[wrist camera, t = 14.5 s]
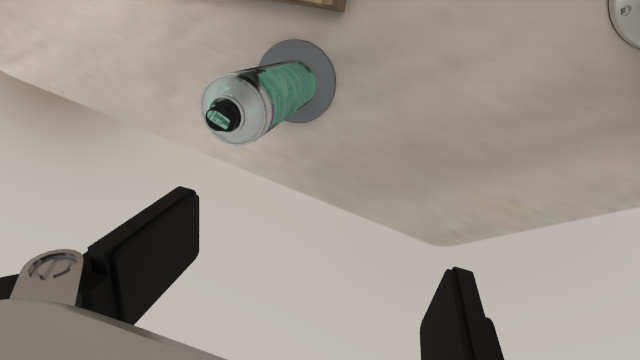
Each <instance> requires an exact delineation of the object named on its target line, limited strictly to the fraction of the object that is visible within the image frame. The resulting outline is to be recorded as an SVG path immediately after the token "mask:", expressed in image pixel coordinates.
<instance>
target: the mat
mask: <svg viewBox="0 0 640 360" xmlns="http://www.w3.org/2000/svg"><path fill="white" fill-rule="evenodd" d="M289 60H301V61H304V62H306V63H307V64H309V65H310V66H311V67H312V68H313V70H314V71H315V73H316V76H317V80H318V87H317V91H316V94H315V96H314V97H313V98H312V99H311V101H309V102H308V103H307V104H305V105H304V106H303V107H301V108H300V109H299V110H297V111H296V112H294V113H293V114H292V115H290V116H289V117H288V118H286V119H285V120H284V121H287V122H291V123H305V122H308V121H311V120H314V119H315V118H317V117H318V116H320V115H321V114H322V113H323V112H324V111H325V110H326V109H327V108H328V106H329V105H330V103H331V101H332V99H333V96H334V93H335V87H336V78H335V72H334V69H333V66H332V64H331V62H330V60H329V58H328V57H327V56H326V54H325V53H324V52H323V51H322V50H321V49H320V48H318V47H317V46H315V45H314V44H312V43H310V42H307V41H303V40H286V41H282V42H280V43H278V44H276V45H274V46H273V47H271V48H270V49H269V50H268V51H267V52H266V54H265V55H264V56H263V58H262V60H261V62H260V64H259V67H260V66H265V65H270V64H275V63H279V62H284V61H289Z"/></svg>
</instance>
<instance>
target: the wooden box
mask: <svg viewBox="0 0 640 360" xmlns="http://www.w3.org/2000/svg"><path fill="white" fill-rule="evenodd" d="M272 1H279V2H285V3H291V4H298V5H304V6H311V7H317V8H323V9H330V10H336V11H342V12H344V10H345V4H346V0H272Z"/></svg>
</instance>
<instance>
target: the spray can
mask: <svg viewBox="0 0 640 360" xmlns="http://www.w3.org/2000/svg"><path fill="white" fill-rule="evenodd" d="M317 87H318V80H317V76H316V73H315V71H314V70H313V68H312V67H311V66H310V65H309V64H307V63H306V62H304V61H301V60H289V61H284V62H279V63H275V64H270V65H265V66H260V67H255V68H250V69H245V70H241V71H236V72H231V73H227V74H223V75H221V76H219V77H217V78H215V79H213V80H212V81H210V82H209V83H208V84H207V86H206V87H205V88H204V90H203V93H202V95H201V100H200V110H201V115H202V118H203V121H204V123H205V125H206V126H207V128H208V129H209V131H210V132H211V133H212V134H213V135H214V136H215V137H216V138H218V139H219V140H221V141H222V142H224V143H227V144H230V145H235V146H241V145H246V144H249V143H252V142H254V141H256V140H258V139H259V138H260V137H262V136H263V135H265V134H266V133H267V132H269V131H270V130H271V129H273V128H274V127H275V126H277V125H278V124H279V123H281V122H282V121H284V120H285V119H286V118H288V117H289V116H290V115H292V114H293V113H294V112H296V111H297V110H299V109H300V108H301V107H303V106H304V105H305V104H307V103H308V102H309V101H311V99H312V98H313V97H314V96H315V94H316V91H317Z"/></svg>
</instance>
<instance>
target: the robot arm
mask: <svg viewBox="0 0 640 360" xmlns="http://www.w3.org/2000/svg"><path fill="white" fill-rule="evenodd" d="M621 9H622V10H623V11H622V13H621V14H620V11H621ZM609 11H610V17H611V20H612V23H613V25H614V27H615V29H616V31H617V32H618V33H619V35H620V36H621V37H622V38H623V39H624V40H625V41H627V42H628V43H629V44H631V45H632V46H635V47H637V48H640V0H609ZM198 253H199V196H198V195H196V192H195V191H194V190H192V189H188V188H184V187H181V186H179V187H177V188H175V189H174V190H173V191H171V192H170V193H168V194H166V195H165V196H164V197H162V198H160V199H159V200H157V201H156V202H155V203H153V204H152V205H150V206H149V207H147V208H146V209H144V210H143V211H141V212H140V213H138V214H137V215H135V216H134V217H132V218H131V219H129V220H128V221H126V222H125V223H124V224H122V225H120V226H119V227H117V228H116V229H115V230H113V231H111V232H110V233H108V234H107V235H105V236H104V237H102V238H101V239H99V240H98V241H97V242H95V243H94V244H92V245H91V246H89V247H88V251H87V252H86V253H84V254H83V255H82V254H81V253H80V252H77V251H75V250H69V249H61V250H54V251H49V252H46V253H43V254H40V255H38V256H36V257H35V258H33V259H31V260H30V261H29V262H27V263H26V264H25V265H24V267H23V268H22V270H21V272H20V274H16V275H11V276H6V277H1V278H0V360H227V359H224V358H221V357H218V356H216V355H213V354H210V353H208V352H205V351H202V350H200V349H197V348H194V347H191V346H189V345H186V344H183V343H180V342H177V341H175V340H172V339H169V338H167V337H164V336H161V335H158V334H156V333H153V332H150V331H147V330H144V329H142V328H139V327H136V326H134V324H135V323H136V322H137V321H138V320H139V319H140V318H141V317H142V316H143V315H144V314H145V312H146V311H147V310H148V309H149V308H150V307H151V306H152V305H153V304H154V303H155V302H156V301H157V300H158V298H160V296H161V295H162V294H163V293H164V292H165V291H166V290H167V289H168V288H169V287H170V286H171V285H172V283H174V281H175V280H176V279H177V278H178V277H179V276H180V275H181V274H182V273H183V272H184V271H185V270H186V269H187V268H188V266H189V265H190V264H191V263H192V262H193V261H194V260H195V259H196V257H197V255H198ZM420 346H421V360H504V357H503V354H502V351H501V348H500V345H499V341H498V337H497V334H496V331H495V327H494V324H493V322H492V320H491V319H490V318H486V317H485V314H484V310H483V307H482V303H481V300H480V296H479V292H478V289H477V285H476V282H475V278H474V274H473V272H471V271H468V270H465V269H461V268H458V267H453V268H452V270H450V269H447V270H446V271H445V273H444V275H443V278H442V280H441V282H440V284H439V286H438V288H437V290H436V292H435V295H434V297H433V299H432V301H431V303H430V305H429V308H428V310H427V312H426V314H425V316H424V318H423V320H422V323H421V327H420Z"/></svg>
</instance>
